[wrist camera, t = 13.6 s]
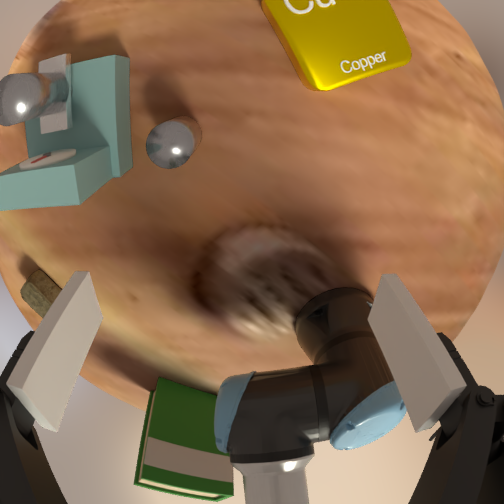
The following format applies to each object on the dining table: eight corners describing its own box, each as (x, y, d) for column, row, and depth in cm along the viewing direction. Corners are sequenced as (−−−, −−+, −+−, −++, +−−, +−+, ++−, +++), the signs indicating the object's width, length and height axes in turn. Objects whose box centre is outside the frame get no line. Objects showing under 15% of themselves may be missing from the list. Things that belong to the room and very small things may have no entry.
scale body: (132, 166, 38) (88, 204, 26) (50, 174, 37) (-7, 211, 25) (129, 58, 30) (78, 46, 18) (43, 77, 30) (-22, 84, 17)
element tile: (307, 96, 35) (316, 96, 30) (254, -1, 28) (256, -13, 24) (401, 63, 32) (419, 62, 28) (355, -29, 25) (368, -40, 21)
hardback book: (150, 391, 62) (133, 484, 41) (159, 376, 59) (141, 477, 38) (218, 413, 67) (217, 501, 46) (232, 400, 64) (233, 495, 43)
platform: (79, 125, 30) (67, 129, 27) (54, 129, 29) (41, 134, 27) (78, 54, 25) (65, 53, 23) (52, 62, 25) (38, 61, 22)
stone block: (39, 264, 45) (26, 279, 40) (83, 306, 50) (73, 324, 45) (28, 279, 46) (15, 295, 42) (69, 318, 51) (60, 336, 47)
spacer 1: (69, 110, 26) (28, 120, 19) (36, 117, 26) (-7, 130, 19) (69, 68, 24) (26, 67, 17) (35, 77, 23) (-9, 82, 16)
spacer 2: (202, 153, 37) (193, 168, 31) (164, 154, 37) (147, 169, 30) (201, 115, 35) (192, 121, 28) (163, 117, 35) (144, 123, 28)
